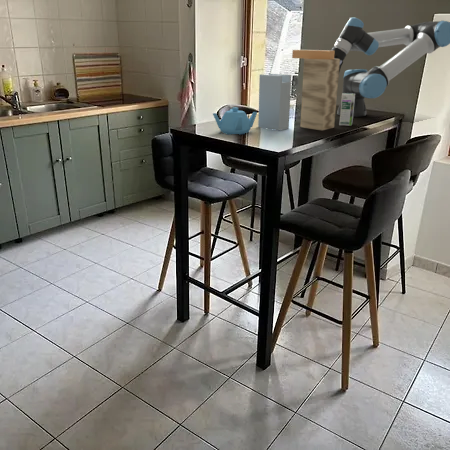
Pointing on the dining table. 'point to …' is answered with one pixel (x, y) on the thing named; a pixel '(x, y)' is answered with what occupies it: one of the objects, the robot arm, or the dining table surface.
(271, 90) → the block
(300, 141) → the dining table surface
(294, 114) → the dining table surface
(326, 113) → the wooden block
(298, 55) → the rod
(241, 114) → the teapot
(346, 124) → the syrup box
